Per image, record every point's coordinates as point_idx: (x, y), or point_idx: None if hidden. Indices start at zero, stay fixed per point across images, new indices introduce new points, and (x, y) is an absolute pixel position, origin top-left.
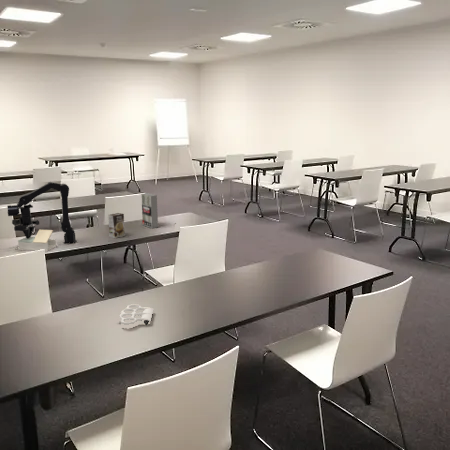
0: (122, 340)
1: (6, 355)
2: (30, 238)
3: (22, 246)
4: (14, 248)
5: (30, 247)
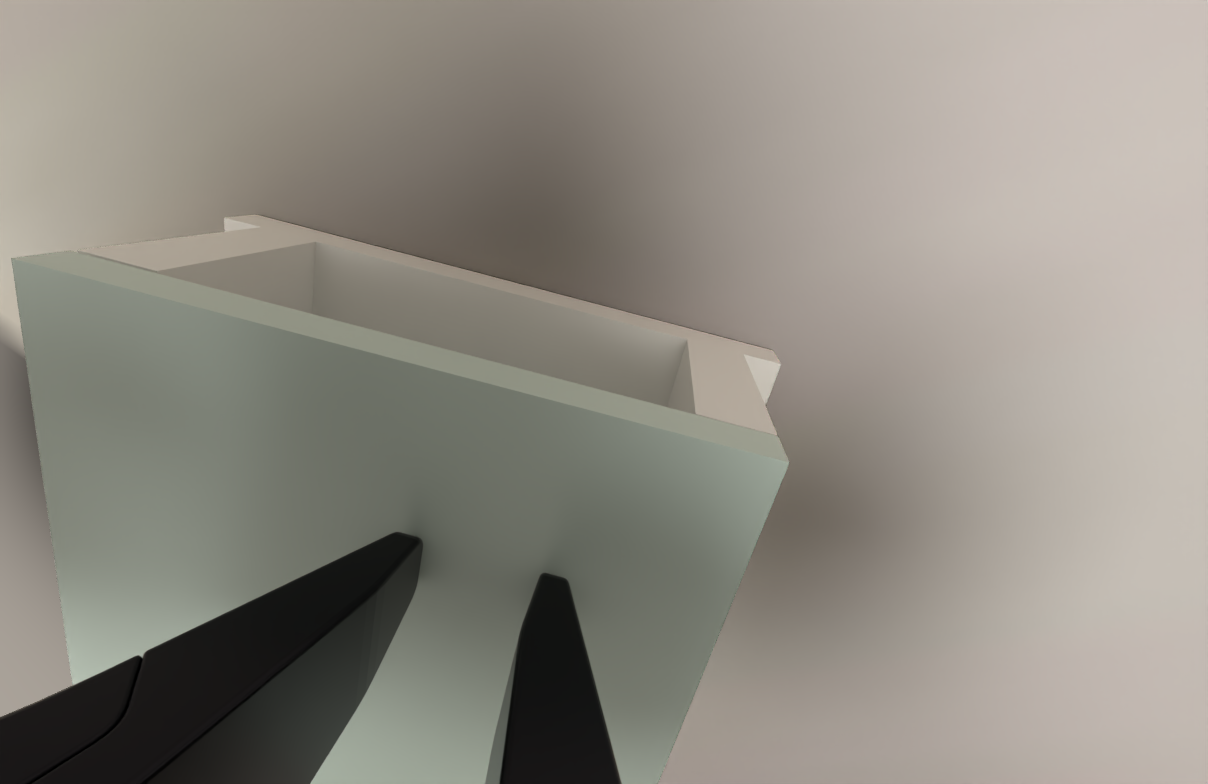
0: None
1: None
2: (436, 649)
3: None
4: (392, 17)
5: None
